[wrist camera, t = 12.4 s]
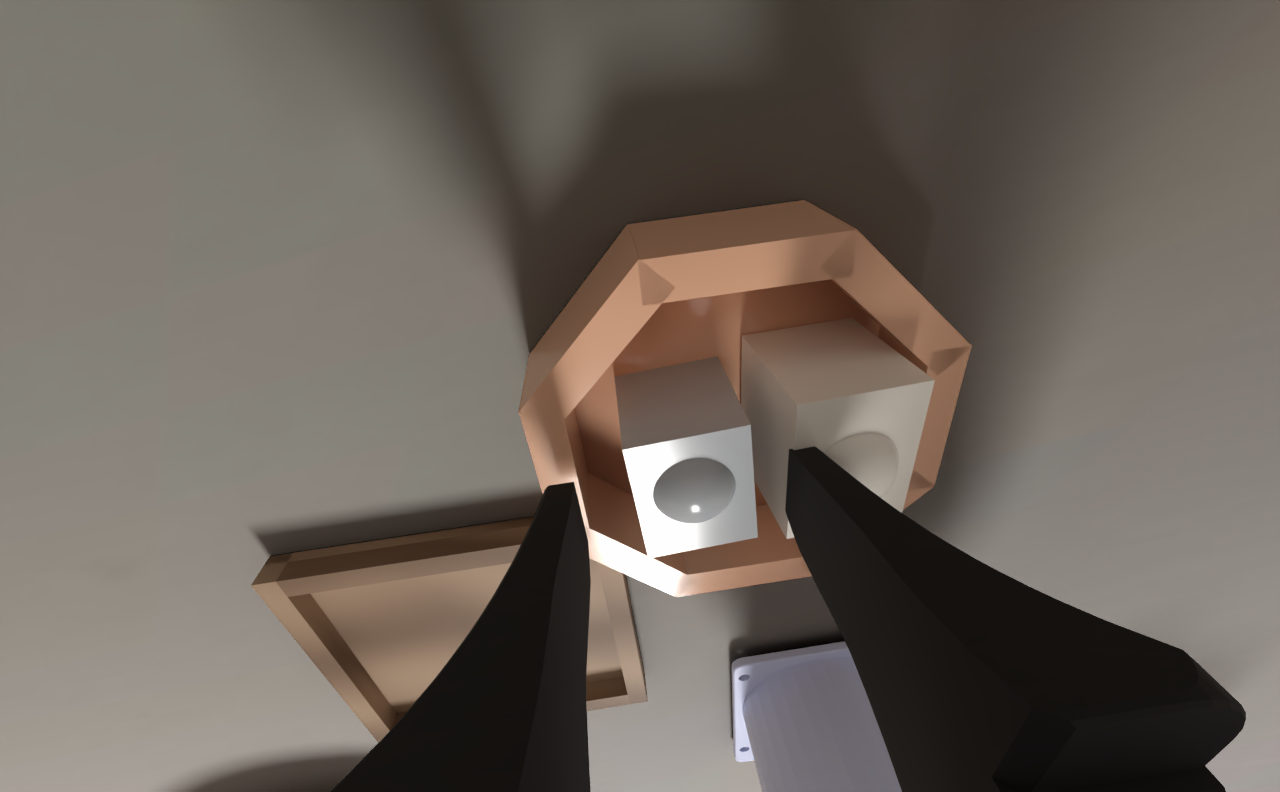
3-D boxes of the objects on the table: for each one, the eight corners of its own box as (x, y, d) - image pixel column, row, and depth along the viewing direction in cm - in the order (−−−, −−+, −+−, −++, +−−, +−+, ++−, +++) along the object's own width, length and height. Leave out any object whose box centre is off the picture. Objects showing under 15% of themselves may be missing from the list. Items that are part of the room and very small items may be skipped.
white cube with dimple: (727, 457, 17) (764, 555, 13) (636, 475, 17) (650, 577, 13) (717, 356, 15) (758, 440, 11) (614, 376, 15) (624, 466, 11)
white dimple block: (835, 436, 17) (918, 535, 13) (740, 454, 16) (797, 559, 13) (851, 317, 14) (956, 396, 11) (741, 335, 14) (812, 423, 10)
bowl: (870, 496, 19) (914, 560, 17) (576, 540, 19) (576, 613, 16) (927, 182, 13) (1009, 207, 11) (500, 241, 13) (480, 281, 10)
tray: (644, 674, 24) (647, 701, 23) (388, 715, 24) (379, 744, 23) (612, 505, 18) (613, 530, 17) (270, 556, 18) (251, 585, 17)
